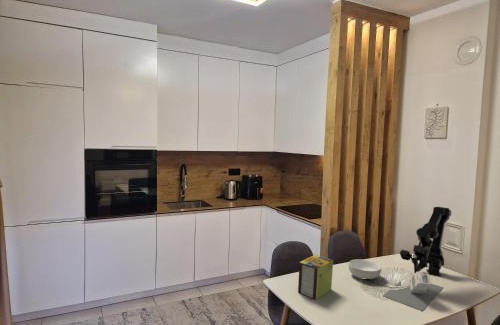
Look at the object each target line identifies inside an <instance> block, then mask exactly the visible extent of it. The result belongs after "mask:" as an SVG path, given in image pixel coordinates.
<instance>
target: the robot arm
mask: <svg viewBox="0 0 500 325" xmlns="http://www.w3.org/2000/svg"><path fill="white" fill-rule="evenodd" d="M451 216H452V210H451V209H450V208H449V207H442V206H434V207H433V209H432V213H431V215H430V218H429V219H428V220H429V221H428V222H427V223H424V224H423V225H422V227H419V228H418V229H416V236H417V239H418V241H419V242H418V245H416V244H414V245H413V250H412V251H413V254H411V253H410V251H409V250H406V249H401V250H400V252H399V256H400V258H401V259H402V260H405V261H410V260H411V263H412V264H413V273H414V274H415V273H416V272H422V270H423V269H425V268H427V269H426V270H425V271H426V273H429V276H430V275H432V276H438V277H441V276H442V274H441V272H440V270H441V269H442V266H445V258H444V256H443V255H444V253H443V250H442V247H441V246H442V241H443V235H444V230H445V227H446V226H445V224H446V223H447V222H448V221H449V220H450V217H451Z"/></svg>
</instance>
